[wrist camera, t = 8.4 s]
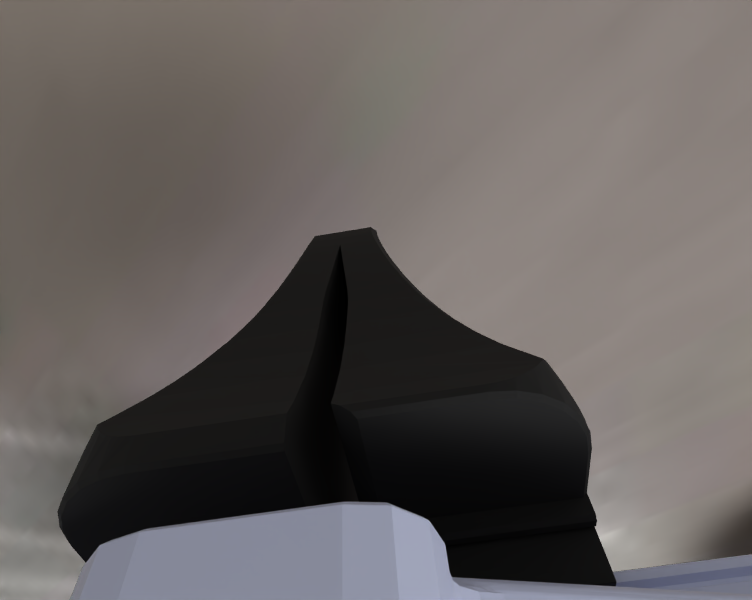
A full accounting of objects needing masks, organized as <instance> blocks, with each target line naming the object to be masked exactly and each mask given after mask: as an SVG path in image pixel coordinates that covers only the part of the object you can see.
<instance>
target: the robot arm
mask: <svg viewBox="0 0 752 600" xmlns="http://www.w3.org/2000/svg"><path fill="white" fill-rule="evenodd" d="M591 451H592V445H591V435H590V430H589V428H588V426H587V424H586V421H585V419H584V417H583V415H582V413H581V411H580V409H579V407H578V406H577V404H576V402H575V401H574V399H573V397H572V396H571V395H570V393H569V392H568V390H567V389H566V387H565V386H564V384H563V383H562V381H561V380H560V379H559V377H558V376H557V375H556V373H555V372H554V371H553V369H552V368H551V367H550V365H549V364H548V363H547V362H546V361H545V360H544V359H543V358H540V357H537V356H534V355H531V354H528V353H526V352H523V351H520V350H517V349H514V348H511V347H509V346H506V345H503V344H501V343H498V342H496V341H494V340H492V339H490V338H488V337H486V336H483V335H481V334H479V333H477V332H475V331H473V330H472V329H470V328H468V327H467V326H465V325H463V324H462V323H460V322H458V321H457V320H455V319H453V318H452V317H451V316H449V315H448V314H446V313H445V312H444V311H442V310H441V309H440V308H438V307H437V306H436V305H435V304H433V303H432V302H431V301H430V300H429V299H427V298H426V297H425V296H424V295H423V294H422V293H421V292H420V291H419V290H418V289H417V288H416V287H415V286H414V285H413V284H412V283H411V282H410V281H409V280H408V279H407V278H406V277H405V276H404V274H403V273H402V272H401V271H400V270H399V268H398V267H397V266H396V265H395V263H394V262H393V261H392V260H391V258H390V257H389V255H388V254H387V252H386V251H385V249H384V248H383V246H382V244H381V242H380V240H379V238H378V236H377V231H375V230H374V229H372V228H371V227H369V228H363V229H357V230H351V231H345V232H338V233H332V234H326V235H320V236H315V237H314V238H313V240H312V241H311V243H310V244H309V245H308V247H307V248H306V250H305V251H304V253H303V255H302V256H301V258H300V259H299V261H298V262H297V264H296V265H295V267H294V268H293V269H292V271H291V272H290V274H289V275H288V276H287V278H286V279H285V281H284V282H283V283H282V285H281V286H280V287H279V289H278V290H277V291H276V292H275V294H274V295H273V296H272V297H271V299H270V300H269V301H268V302H267V303H266V305H265V306H264V307H263V308H262V309H261V310H260V311H259V313H258V314H257V315H256V316H255V317H254V318H253V319H252V320H251V321H250V322H249V323H248V324H247V325H246V326H245V327H244V328H243V329H242V330H240V331H239V332H238V333H237V334H236V335H235V336H234V337H233V338H232V339H231V340H230V341H228V342H227V343H226V344H225V345H223V346H222V347H221V348H220V349H218V350H217V351H216V352H215V353H213V354H212V355H211V356H210V357H208V358H207V359H206V360H205V361H203V362H202V363H201V364H199V365H198V366H197V367H195V368H194V369H192V370H191V371H189V372H188V373H187V374H185V375H184V376H182V377H181V378H179V379H178V380H176V381H175V382H173V383H171V384H170V385H168V386H167V387H165V388H164V389H162V390H160V391H159V392H157V393H155V394H154V395H152V396H150V397H149V398H147V399H145V400H143V401H141V402H139V403H138V404H136V405H134V406H132V407H130V408H128V409H126V410H125V411H123V412H121V413H119V414H117V415H115V416H113V417H112V418H110V419H108V420H106V421H104V422H102V423H100V424H98V425H97V427H96V429H95V430H94V432H93V434H92V436H91V438H90V440H89V442H88V444H87V446H86V448H85V450H84V452H83V454H82V457H81V459H80V461H79V463H78V465H77V467H76V470H75V472H74V474H73V476H72V478H71V480H70V483H69V485H68V487H67V489H66V491H65V493H64V496H63V498H62V501H61V504H60V506H59V509H58V518H59V525H60V528H61V530H62V532H63V533H64V535H65V537H66V538H67V540H68V542H69V543H70V544H71V546H72V547H73V548H74V549H75V551H76V552H77V553H78V554H79V555H80V556H81V558H82V559H83V560H84V561H85V562H86V563H85V565H84V566H83V567H82V570H81V572H80V575H79V578H78V580H77V583H76V585H75V588H74V590H73V593H72V596H71V598H70V600H752V554H749V555H741V556H733V557H726V558H718V559H710V560H702V561H694V562H687V563H679V564H671V565H663V566H656V567H648V568H640V569H632V570H624V571H617V572H613V571H612V569H611V566H610V564H609V561H608V559H607V557H606V554H605V552H604V549H603V547H602V544H601V542H600V539H599V537H598V534H597V532H596V529H595V527H594V526H596V523H597V519H596V514H595V511H594V509H593V507H592V504H591V502H590V499H589V497H588V495H587V486H588V477H589V468H590V459H591Z"/></svg>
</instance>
